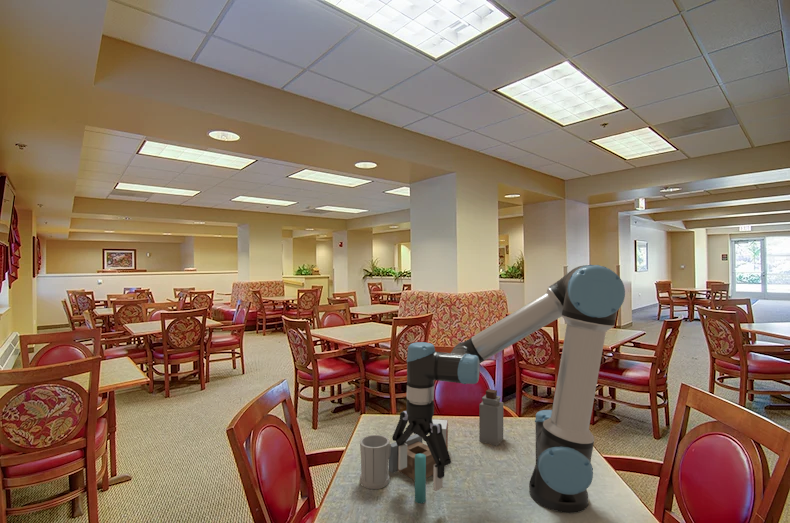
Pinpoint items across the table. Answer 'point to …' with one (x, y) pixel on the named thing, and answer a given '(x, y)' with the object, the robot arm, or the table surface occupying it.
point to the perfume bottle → (491, 418)
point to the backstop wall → (394, 455)
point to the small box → (443, 429)
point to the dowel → (420, 478)
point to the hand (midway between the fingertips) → (419, 478)
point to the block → (411, 453)
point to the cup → (374, 461)
